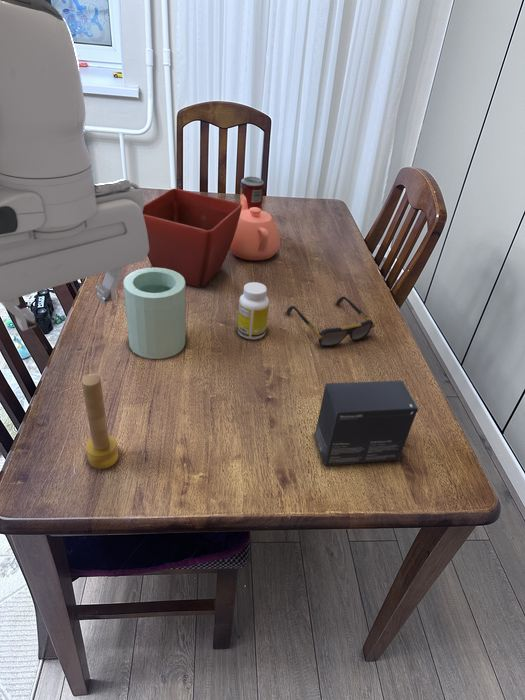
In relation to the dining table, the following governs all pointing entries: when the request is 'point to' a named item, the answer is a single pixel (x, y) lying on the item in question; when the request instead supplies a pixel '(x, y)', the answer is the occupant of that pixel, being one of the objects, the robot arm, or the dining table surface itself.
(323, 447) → the small box
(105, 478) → the dining table surface
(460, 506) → the dining table surface
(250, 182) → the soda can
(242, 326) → the pill bottle
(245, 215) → the teapot
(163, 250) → the flower pot
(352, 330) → the sunglasses
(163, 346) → the mint green tube
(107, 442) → the beige handle with collar
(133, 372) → the dining table surface
